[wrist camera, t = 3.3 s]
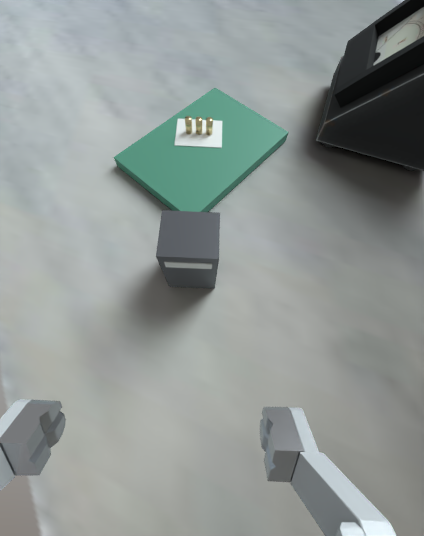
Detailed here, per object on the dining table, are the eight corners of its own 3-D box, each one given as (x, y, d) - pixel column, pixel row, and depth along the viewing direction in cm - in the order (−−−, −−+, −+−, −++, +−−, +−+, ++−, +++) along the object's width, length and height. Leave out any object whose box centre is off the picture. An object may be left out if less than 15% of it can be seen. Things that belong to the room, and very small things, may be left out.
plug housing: (215, 252, 28) (219, 212, 21) (214, 289, 26) (218, 260, 19) (173, 250, 28) (162, 210, 21) (169, 287, 26) (155, 257, 19)
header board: (214, 97, 38) (215, 86, 37) (285, 141, 35) (288, 131, 34) (117, 166, 32) (113, 156, 31) (191, 226, 29) (191, 219, 28)
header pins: (186, 129, 33) (185, 115, 31) (212, 130, 33) (213, 117, 31) (185, 134, 33) (184, 120, 31) (212, 135, 33) (212, 121, 31)
